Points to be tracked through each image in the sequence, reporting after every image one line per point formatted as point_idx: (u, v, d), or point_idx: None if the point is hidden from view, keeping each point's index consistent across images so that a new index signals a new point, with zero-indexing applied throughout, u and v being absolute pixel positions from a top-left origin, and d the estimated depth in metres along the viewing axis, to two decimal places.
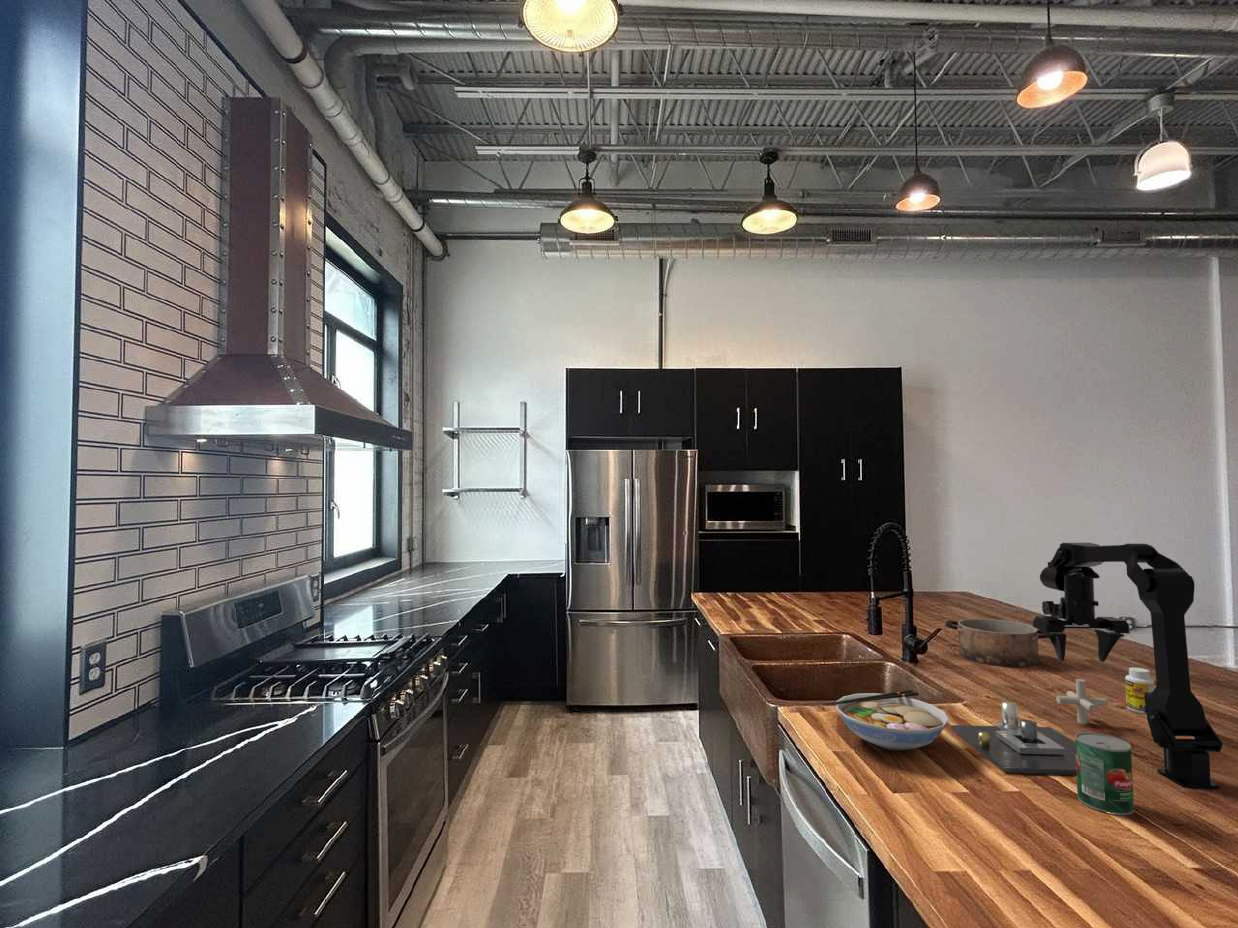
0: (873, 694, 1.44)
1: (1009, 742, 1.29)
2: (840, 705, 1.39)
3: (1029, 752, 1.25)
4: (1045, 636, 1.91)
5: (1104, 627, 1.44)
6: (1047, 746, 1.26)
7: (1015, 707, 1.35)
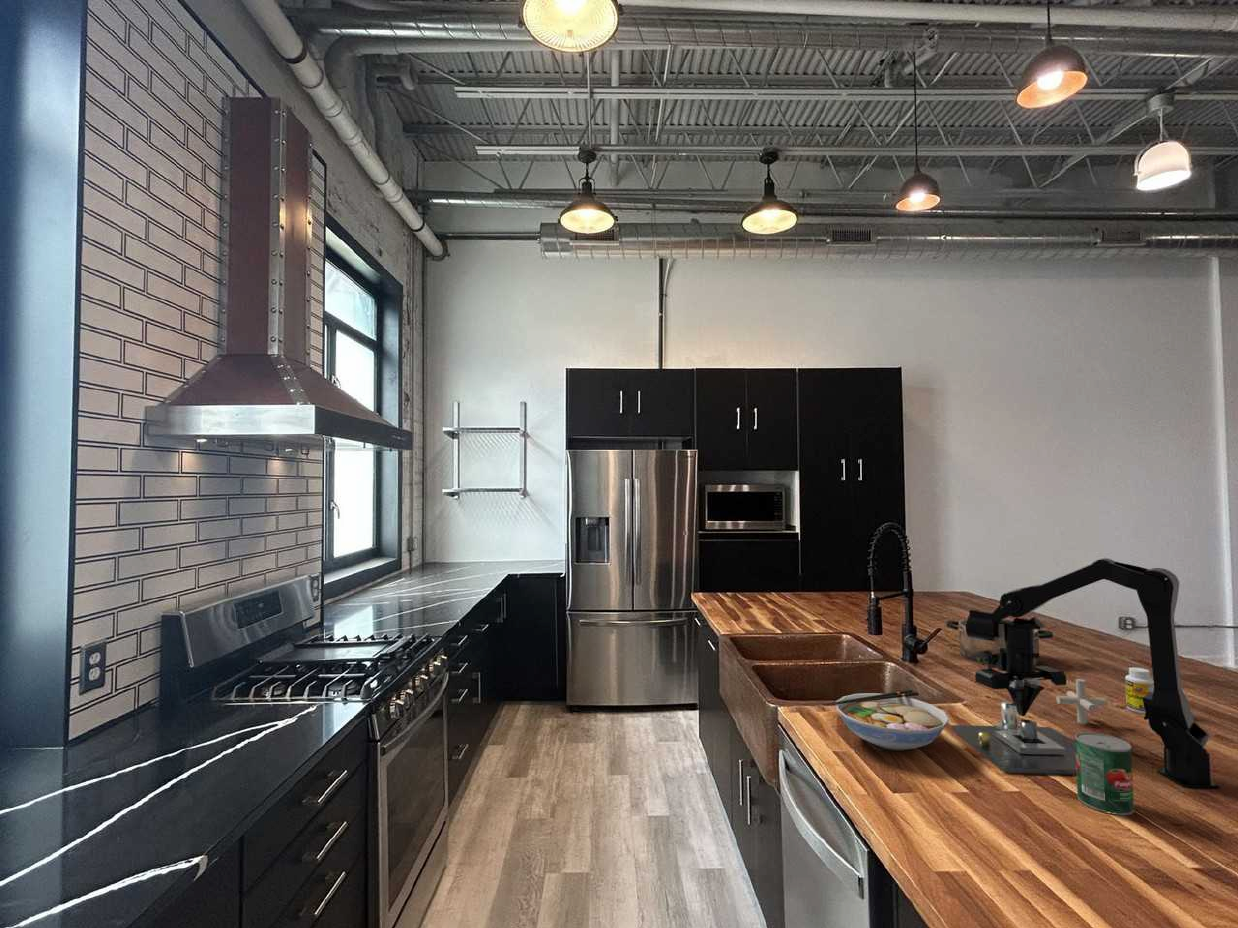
0: (873, 694, 1.44)
1: (1009, 742, 1.29)
2: (840, 705, 1.39)
3: (1029, 752, 1.25)
4: (1046, 636, 1.91)
5: (1024, 679, 1.37)
6: (1047, 746, 1.26)
7: (1015, 707, 1.35)
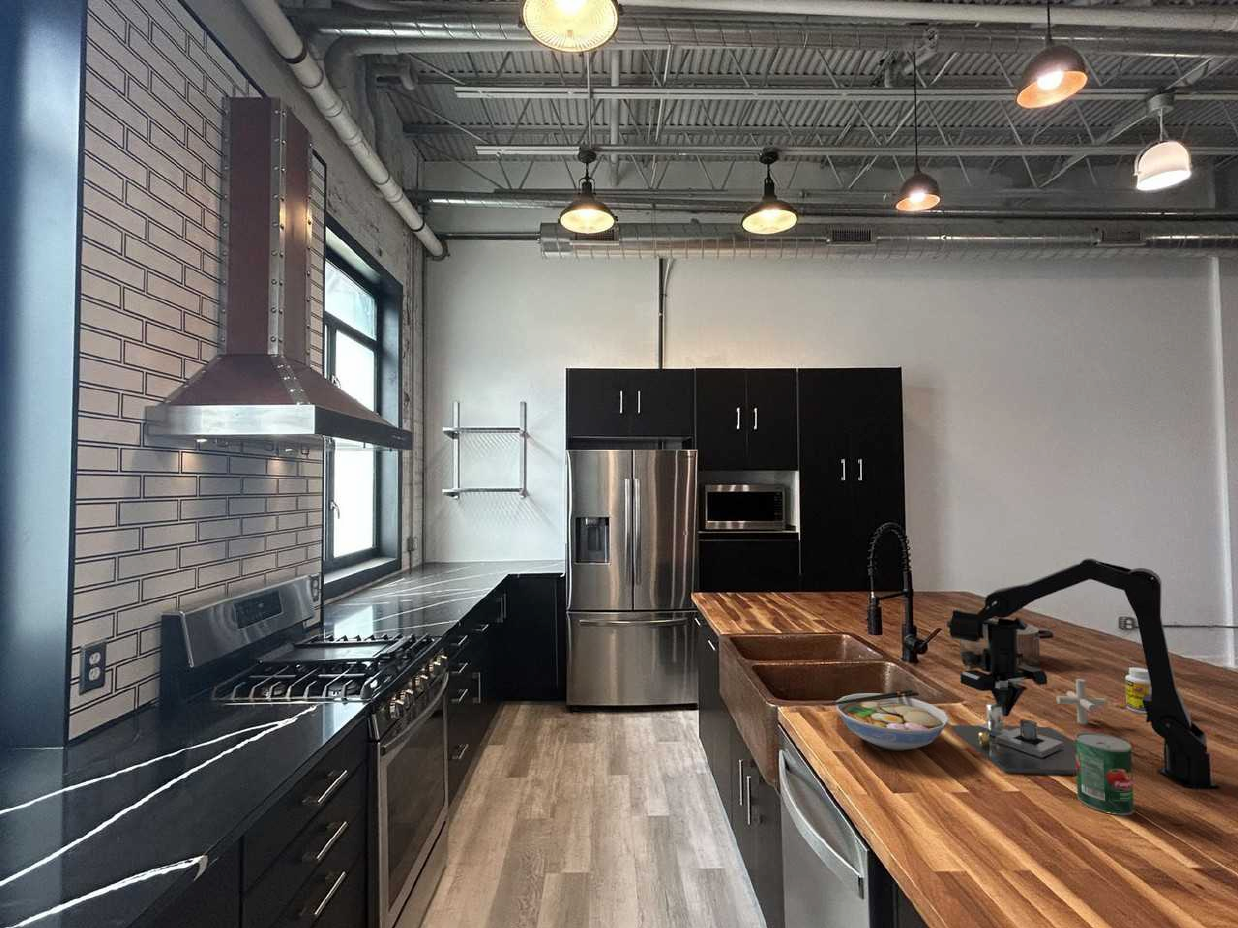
0: (873, 694, 1.44)
1: (1022, 747, 1.26)
2: (840, 705, 1.39)
3: (1046, 754, 1.24)
4: (1046, 636, 1.91)
5: None
6: (1050, 743, 1.27)
7: (1001, 708, 1.35)
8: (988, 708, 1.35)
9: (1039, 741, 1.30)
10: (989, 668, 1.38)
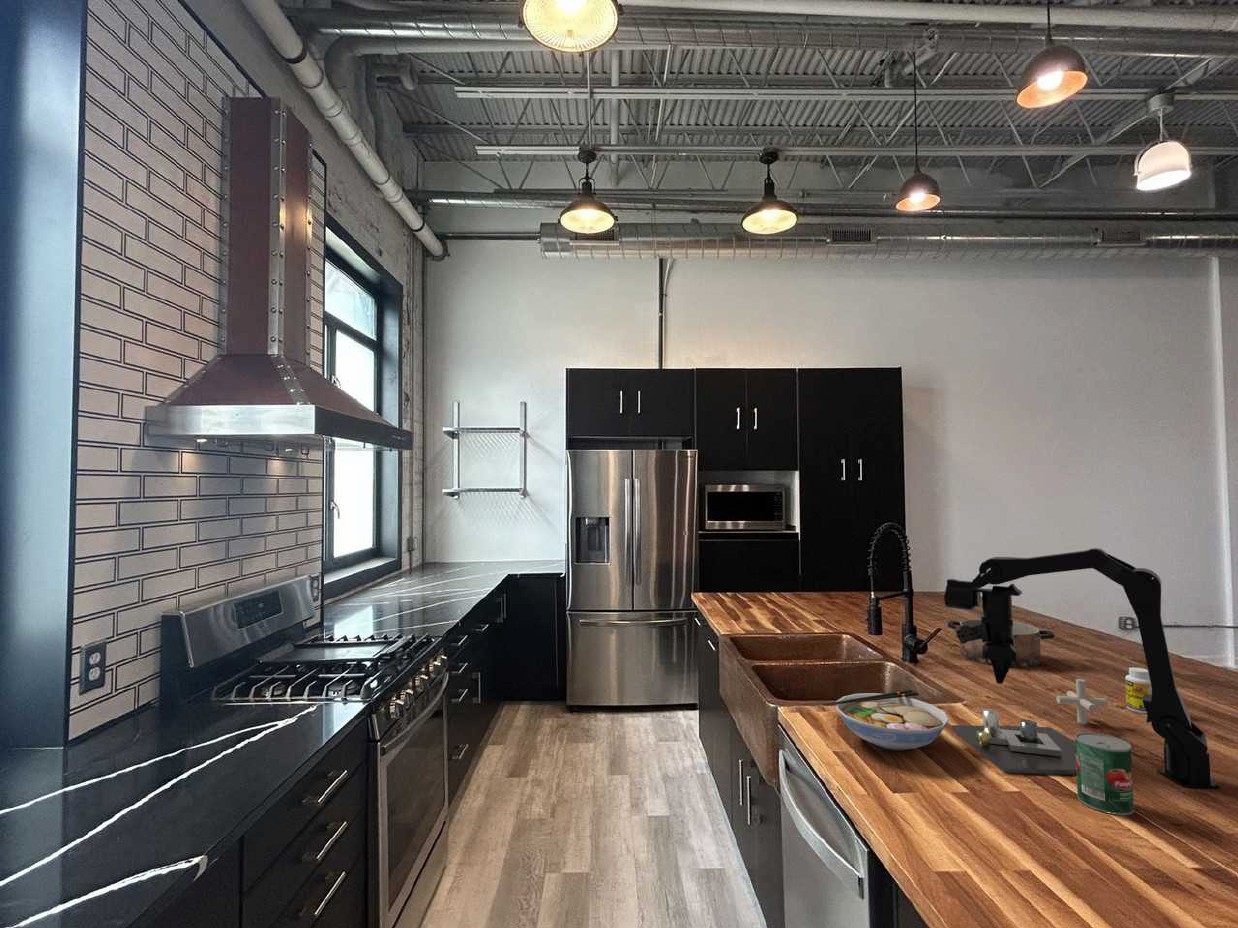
0: (873, 694, 1.44)
1: (1040, 750, 1.25)
2: (840, 705, 1.39)
3: None
4: (1047, 637, 1.90)
5: None
6: (1044, 738, 1.30)
7: None
8: (989, 716, 1.31)
9: None
10: (991, 638, 1.36)
